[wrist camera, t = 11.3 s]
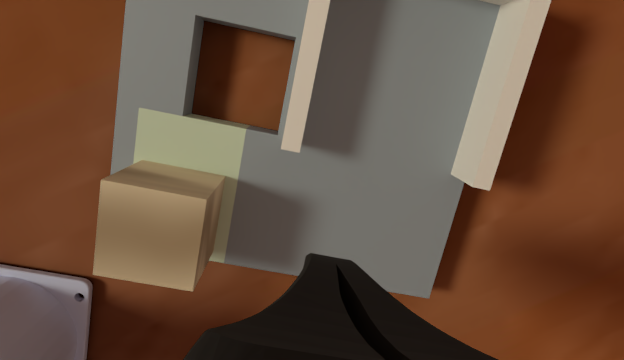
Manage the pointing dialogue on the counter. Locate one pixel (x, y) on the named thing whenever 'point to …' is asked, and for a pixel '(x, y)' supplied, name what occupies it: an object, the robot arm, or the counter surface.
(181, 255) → the block
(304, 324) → the robot arm
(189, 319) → the counter surface
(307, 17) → the cubby
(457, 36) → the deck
